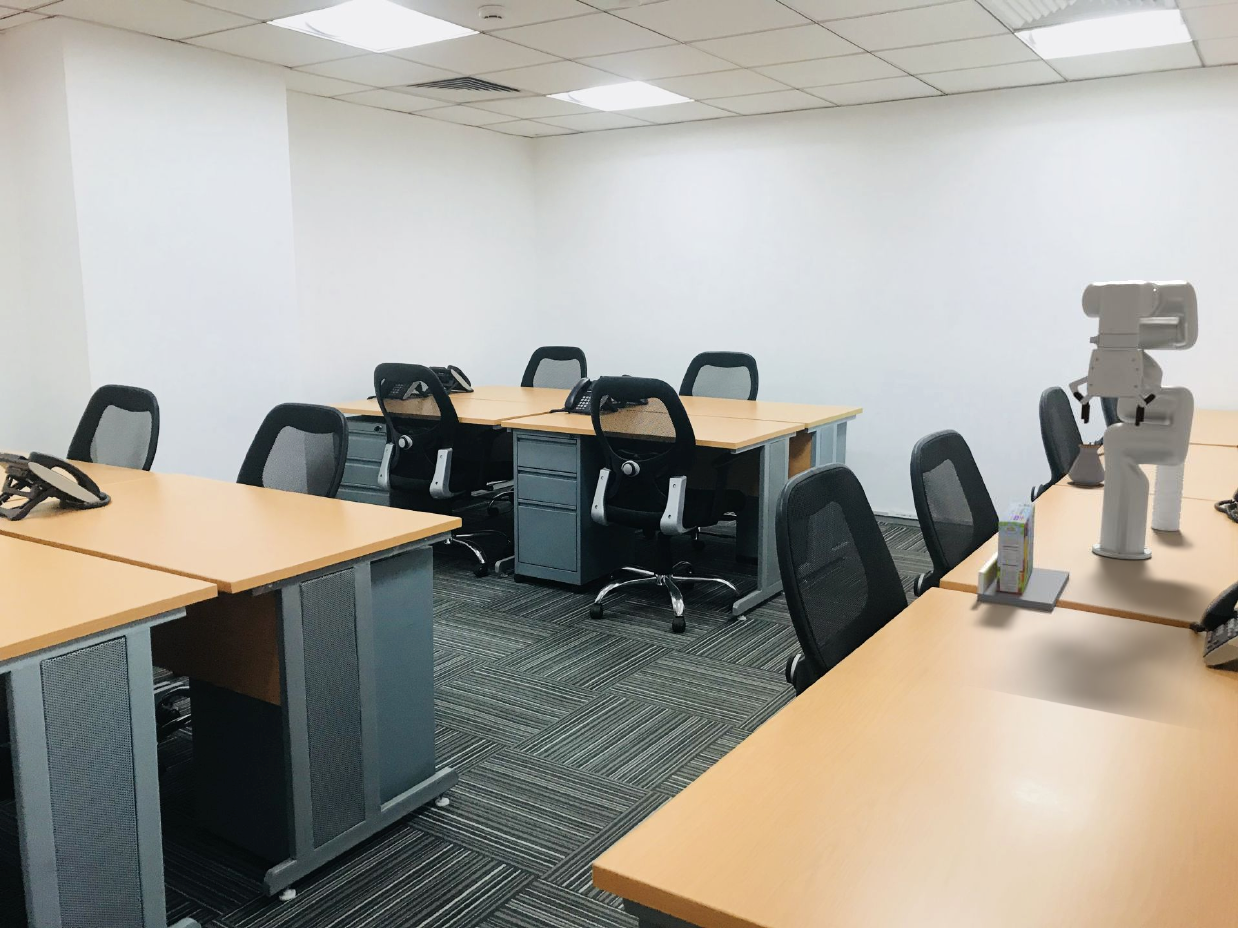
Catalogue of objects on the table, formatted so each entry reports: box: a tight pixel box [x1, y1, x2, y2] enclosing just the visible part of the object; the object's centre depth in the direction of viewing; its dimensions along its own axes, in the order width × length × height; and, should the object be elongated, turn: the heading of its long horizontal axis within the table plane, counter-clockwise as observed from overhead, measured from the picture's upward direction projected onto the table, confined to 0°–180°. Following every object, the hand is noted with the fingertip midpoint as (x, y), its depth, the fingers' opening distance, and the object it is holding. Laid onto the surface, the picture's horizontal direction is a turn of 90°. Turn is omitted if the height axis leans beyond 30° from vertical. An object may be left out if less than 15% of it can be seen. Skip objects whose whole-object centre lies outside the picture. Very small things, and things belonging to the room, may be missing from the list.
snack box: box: [996, 501, 1036, 594], centre depth 199 cm, size 21×6×15 cm, turn 151°
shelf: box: [976, 549, 1071, 612], centre depth 199 cm, size 26×14×6 cm, turn 148°
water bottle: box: [1150, 459, 1186, 532], centre depth 250 cm, size 9×6×25 cm
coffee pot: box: [1067, 443, 1105, 486], centre depth 311 cm, size 21×12×15 cm, turn 56°
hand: (1111, 424), depth 199 cm, fingers open, 9 cm apart
